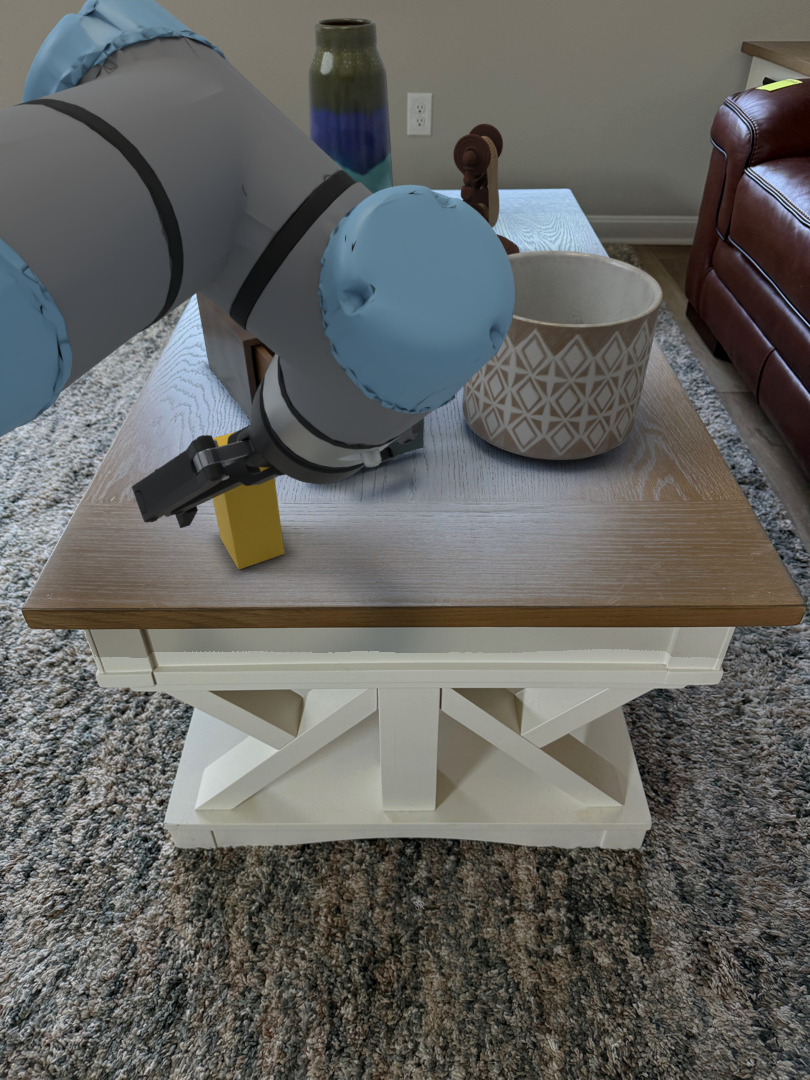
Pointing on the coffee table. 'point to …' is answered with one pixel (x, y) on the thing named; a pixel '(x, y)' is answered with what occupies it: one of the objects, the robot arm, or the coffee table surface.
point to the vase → (351, 100)
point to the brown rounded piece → (482, 174)
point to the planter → (567, 357)
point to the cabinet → (229, 352)
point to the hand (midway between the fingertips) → (263, 484)
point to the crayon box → (249, 521)
